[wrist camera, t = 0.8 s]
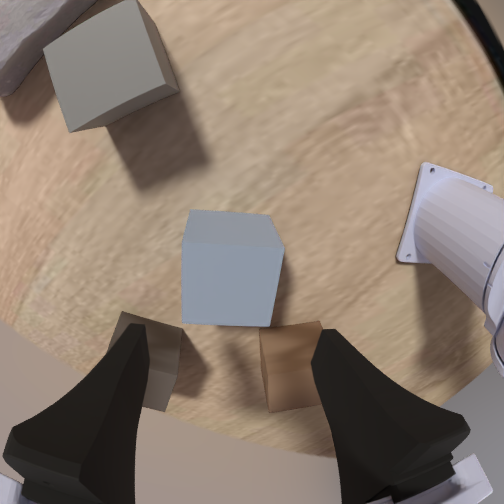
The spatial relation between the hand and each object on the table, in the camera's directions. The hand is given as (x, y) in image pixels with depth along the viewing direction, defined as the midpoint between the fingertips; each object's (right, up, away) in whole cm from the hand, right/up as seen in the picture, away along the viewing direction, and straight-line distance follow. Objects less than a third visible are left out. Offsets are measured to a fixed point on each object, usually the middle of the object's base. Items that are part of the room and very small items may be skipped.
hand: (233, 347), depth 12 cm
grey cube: (-7, +14, +2) cm, 16 cm away
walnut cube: (+4, -4, +13) cm, 14 cm away
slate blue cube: (-1, +4, +8) cm, 9 cm away
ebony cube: (-8, -4, +11) cm, 14 cm away
